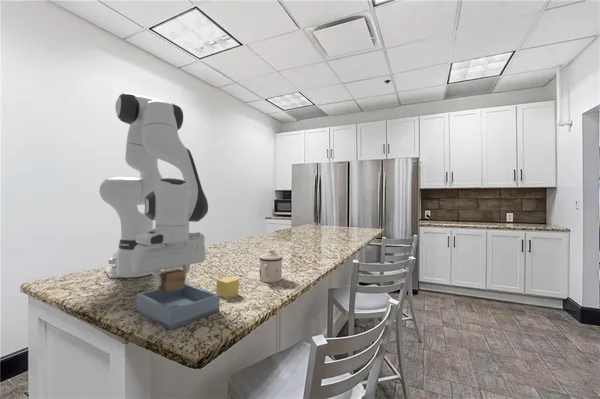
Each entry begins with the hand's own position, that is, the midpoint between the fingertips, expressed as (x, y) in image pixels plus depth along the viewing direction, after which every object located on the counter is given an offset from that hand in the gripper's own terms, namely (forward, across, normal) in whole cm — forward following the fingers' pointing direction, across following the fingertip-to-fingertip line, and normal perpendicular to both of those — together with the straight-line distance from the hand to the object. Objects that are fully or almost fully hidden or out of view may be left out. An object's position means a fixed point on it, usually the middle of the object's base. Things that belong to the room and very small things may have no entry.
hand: (171, 283), depth 77 cm
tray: (+7, 0, +4) cm, 8 cm away
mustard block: (+7, -17, +4) cm, 19 cm away
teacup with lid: (+7, -37, +4) cm, 38 cm away
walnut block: (+2, 0, 0) cm, 2 cm away
